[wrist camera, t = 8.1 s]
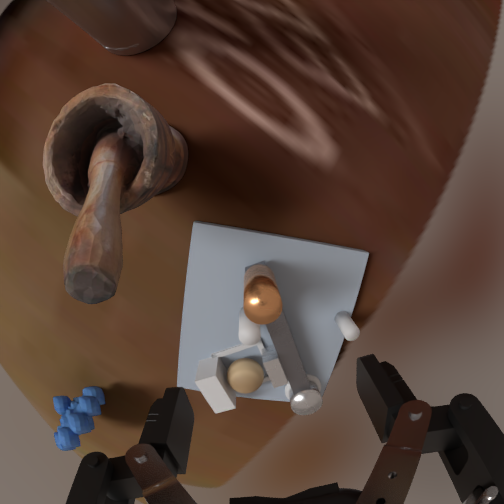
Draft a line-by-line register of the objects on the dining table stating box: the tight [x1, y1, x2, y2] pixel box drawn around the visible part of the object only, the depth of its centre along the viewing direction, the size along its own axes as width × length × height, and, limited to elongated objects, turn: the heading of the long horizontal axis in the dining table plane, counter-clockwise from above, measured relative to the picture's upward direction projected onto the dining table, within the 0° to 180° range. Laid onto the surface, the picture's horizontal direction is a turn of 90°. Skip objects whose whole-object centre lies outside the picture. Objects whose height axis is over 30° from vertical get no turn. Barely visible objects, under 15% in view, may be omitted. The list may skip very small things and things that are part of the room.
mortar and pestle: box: [43, 84, 188, 304], centre depth 19 cm, size 12×9×20 cm
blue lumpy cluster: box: [53, 386, 105, 451], centre depth 29 cm, size 12×7×12 cm, turn 138°
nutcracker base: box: [177, 221, 369, 413], centre depth 30 cm, size 20×18×6 cm
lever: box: [243, 260, 323, 415], centre depth 27 cm, size 19×4×8 cm, turn 20°
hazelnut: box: [227, 358, 264, 394], centre depth 31 cm, size 4×4×4 cm
